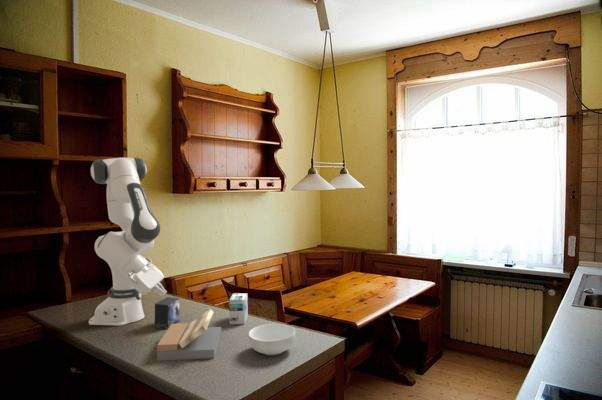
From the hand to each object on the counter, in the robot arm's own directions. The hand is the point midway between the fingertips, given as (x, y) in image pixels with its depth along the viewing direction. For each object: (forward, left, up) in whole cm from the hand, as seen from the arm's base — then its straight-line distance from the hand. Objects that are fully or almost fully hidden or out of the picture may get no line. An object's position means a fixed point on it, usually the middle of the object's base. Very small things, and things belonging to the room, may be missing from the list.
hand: (164, 294), depth 146 cm
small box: (-5, +25, -20) cm, 32 cm away
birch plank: (+12, 0, -13) cm, 18 cm away
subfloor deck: (+9, 0, -20) cm, 22 cm away
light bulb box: (+25, +27, -20) cm, 42 cm away
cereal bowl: (+39, -7, -20) cm, 44 cm away
